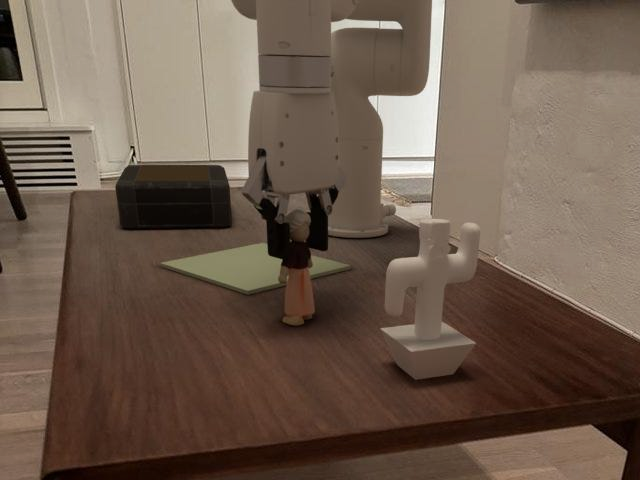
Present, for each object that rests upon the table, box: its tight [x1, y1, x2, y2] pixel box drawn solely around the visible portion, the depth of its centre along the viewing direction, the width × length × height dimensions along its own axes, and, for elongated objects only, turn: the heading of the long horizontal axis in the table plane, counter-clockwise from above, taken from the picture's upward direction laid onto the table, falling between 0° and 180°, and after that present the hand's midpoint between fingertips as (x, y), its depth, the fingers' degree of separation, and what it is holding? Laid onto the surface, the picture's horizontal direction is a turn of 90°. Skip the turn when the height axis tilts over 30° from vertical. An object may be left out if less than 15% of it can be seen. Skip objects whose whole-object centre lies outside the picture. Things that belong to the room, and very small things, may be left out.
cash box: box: [114, 164, 233, 230], centre depth 141 cm, size 25×20×8 cm
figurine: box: [379, 218, 481, 381], centre depth 73 cm, size 7×9×15 cm
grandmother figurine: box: [278, 209, 316, 326], centre depth 87 cm, size 8×4×13 cm, turn 169°
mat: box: [160, 242, 351, 296], centre depth 110 cm, size 20×20×1 cm
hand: (298, 251), depth 86 cm, fingers closed on grandmother figurine, 5 cm apart
